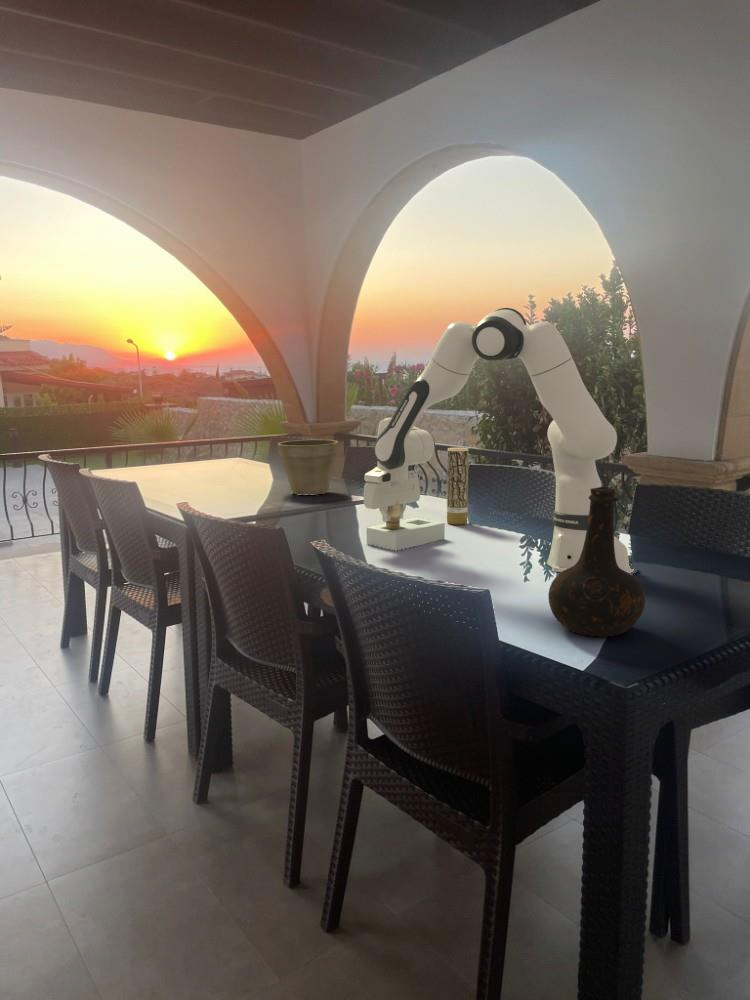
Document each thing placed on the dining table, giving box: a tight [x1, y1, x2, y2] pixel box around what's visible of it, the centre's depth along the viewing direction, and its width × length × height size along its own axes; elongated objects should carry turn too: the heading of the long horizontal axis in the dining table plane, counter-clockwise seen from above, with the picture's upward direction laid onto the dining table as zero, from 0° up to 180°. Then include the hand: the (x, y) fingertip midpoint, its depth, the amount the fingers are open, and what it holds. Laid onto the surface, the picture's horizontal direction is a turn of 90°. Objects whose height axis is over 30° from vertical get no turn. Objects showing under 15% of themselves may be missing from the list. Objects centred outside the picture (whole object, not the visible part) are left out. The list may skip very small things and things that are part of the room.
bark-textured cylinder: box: [446, 447, 469, 526], centre depth 240 cm, size 7×7×25 cm
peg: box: [385, 499, 401, 531], centre depth 212 cm, size 4×4×12 cm
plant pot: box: [277, 439, 339, 495], centre depth 304 cm, size 25×25×22 cm
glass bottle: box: [547, 486, 646, 638], centre depth 140 cm, size 18×18×28 cm
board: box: [366, 517, 446, 552], centre depth 217 cm, size 12×21×5 cm, turn 134°
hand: (392, 520), depth 212 cm, fingers closed on peg, 4 cm apart
